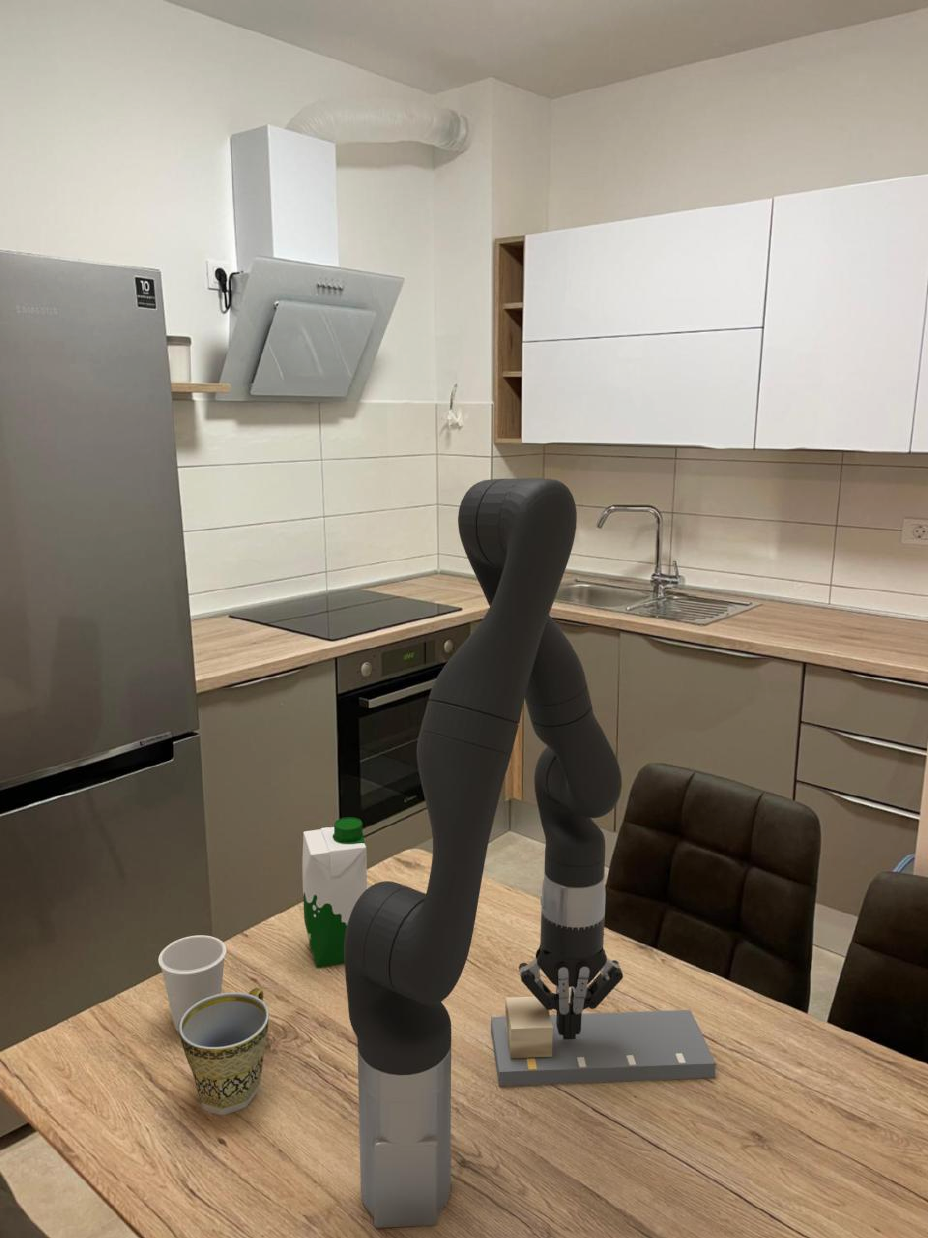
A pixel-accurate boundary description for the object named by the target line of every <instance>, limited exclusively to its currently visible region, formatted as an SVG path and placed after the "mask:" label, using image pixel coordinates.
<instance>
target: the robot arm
mask: <svg viewBox="0 0 928 1238" xmlns="http://www.w3.org/2000/svg"><path fill="white" fill-rule="evenodd" d="M462 497H463V498H462V499H461V502H460V505H459V508H458V514H457V515H458V516H457V524H458V525H457V526H458V533H459V537H460V540H461V543H462V547H463V550H464V553H465V555H466V558H467V560H468V562H469V564H470V566H471V567H470V568H471V569H472V571H473V574H474V575H475V577H476V580H477V582H478V584H479V586H480V588H481V590H482V593H483V594H484V597H485V598H486V601H487V603H488V606H489V608H488V610H487V612H486V614H484V617H483V618H482V620H481V621H480V623H479V624H478V625H477V626H476V628H475V629H473V631H472V632H471V634H470V635H469V636H468V637H467V639H465V641H463V643H462V644H461V645H460V646H459V647H458V649H457V650H456V652H454V654H453V655H452V656H451V658H450V659H449V660H448V661H447V662H446V664H445V665H444V666H443V668H442V669H441V671H440V672H439V674H438V675H437V677H436V679H435V680H434V683H433V685H432V688H431V690H430V694H429V697H428V701H427V705H426V707H425V711H424V715H423V719H422V722H421V726H420V731H419V734H418V738H417V743H416V762H417V769H418V773H419V778H420V779H419V780H420V783H421V788H422V792H423V796H424V801H425V805H426V808H427V812H428V817H429V822H430V826H431V827H430V828H431V833H432V834H431V835H432V857H431V867H430V873H429V874H430V875H429V878H428V885H427V889H426V892H422V891H420V890H418V889H414V888H412V887H409V886H407V885H404V884H401V883H398V882H396V881H388V880H386V881H385V880H384V881H380V882H377V883H375V884H373V885H371V886H369V887H367V890H365V891H364V892H363V894H362V895H361V896H360V897H359V899H358V900H357V902H356V903H355V905H354V907H353V909H352V912H351V914H350V917H349V920H348V924H347V928H346V934H345V943H344V961H345V963H344V974H345V975H344V976H345V985H346V995H347V996H346V997H347V998H346V999H347V1009H348V1010H347V1011H348V1019H349V1022H350V1025H351V1029H352V1031H353V1033H354V1034H355V1036H356V1040H357V1041H356V1042H357V1080H358V1083H357V1084H358V1086H357V1087H358V1089H357V1090H358V1092H357V1093H358V1127H359V1131H358V1132H359V1137H358V1138H359V1164H360V1167H359V1168H360V1169H359V1170H360V1196H361V1201H362V1203H363V1205H364V1207H365V1209H366V1210H367V1211H368V1212H369V1214H370V1215H371V1216H372V1217H373V1223H374V1224H373V1225H374V1227H375V1228H377V1229H378V1228H397V1227H398V1228H401V1227H415V1226H416V1227H417V1226H436V1225H437V1224H438V1223H439V1222H438V1221H439V1220H438V1219H439V1218H438V1216H439V1214H440V1212H441V1211H442V1210H443V1208H445V1206H446V1205H447V1203H448V1201H449V1198H450V1195H451V1190H452V1187H451V1186H452V1184H451V1183H452V1181H451V1180H452V1177H451V1176H452V1175H451V1173H452V1172H451V1171H452V1167H451V1166H452V1163H451V1162H452V1160H451V1158H452V1151H451V1150H452V1148H451V1147H452V1146H451V1145H452V1144H451V1143H452V1138H451V1137H452V1136H451V1135H452V1134H451V1133H452V1132H451V1131H452V1130H451V1129H452V1022H451V1021H452V1020H451V1017H450V1014H449V1011H448V1009H447V1007H446V1006H445V1005H444V1004H443V1001H444V1000H445V999H446V998H448V996H450V995H451V993H452V992H453V991H454V989H455V987H456V986H457V985H458V982H459V980H460V978H461V977H462V974H463V971H464V968H465V965H466V963H467V959H468V956H469V952H470V948H471V944H472V938H473V935H474V934H473V933H474V927H475V922H476V918H477V911H478V903H479V899H480V892H481V888H482V880H483V875H484V871H485V870H484V868H485V863H486V858H487V853H488V847H489V842H490V838H491V834H492V829H493V824H494V820H495V816H496V812H497V807H498V804H499V800H500V796H501V792H502V788H503V785H504V781H505V777H506V774H507V770H508V768H509V764H510V760H511V757H512V754H513V749H514V745H515V742H516V738H517V733H518V730H519V726H520V725H519V724H520V722H521V717H522V712H523V708H524V702H525V704H526V708H527V711H528V715H529V718H530V723H531V726H532V729H533V731H534V734H535V735H536V736H537V737H538V739H539V740H540V741H541V742H542V743H543V744H544V745H546V748H544V750H543V751H542V753H541V754H540V755H539V757H538V760H537V762H536V766H535V771H534V775H533V776H534V777H533V778H534V779H533V781H534V792H535V793H534V794H535V799H536V805H537V809H538V813H539V818H540V824H541V827H542V830H543V833H544V837H545V847H544V849H545V850H544V874H543V879H542V885H541V895H540V905H541V906H540V909H541V910H540V912H541V915H540V943H539V947H538V949H537V951H536V953H535V959H533V960H532V961H530V962H529V963H526V962H521V963H520V964H519V966H518V971H519V975H520V981H521V982H522V983H523V985H524V986H526V988H527V989H528V990H529V991H530V992H531V994H532V995H533V997H536V998H537V999H538V1000H539V1002H540V1003H541V1004H542V1005H543V1006H544V1007H545V1008H546V1009H547V1010H549V1011H552V1010H555V1011H556V1014H555V1015H556V1025H557V1029H558V1033H559V1035H563V1039H575V1038H576V1034H579V1033H580V1031H581V1015H582V1014H583V1011H584V1010H585V1009H591V1010H594V1009H597V1008H598V1007H599V1005H600V1004H601V1003H602V1002H603V1001H604V1000H605V998H606V997H608V995H609V994H610V993H611V992H612V991H613V989H615V987H616V986H618V984H619V983H620V982H621V981H622V979H623V978H624V975H623V970H622V968H621V965H620V963H619V961H618V960H615V959H614V960H611V959H610V958H608V956H607V954H606V949H604V942H605V941H604V939H605V937H604V936H605V915H606V898H607V897H606V882H605V869H606V868H605V865H606V839H605V838H606V837H605V834H604V832H603V831H602V829H601V828H600V827H599V826H598V825H597V824H596V822H595V821H594V820H593V819H597V818H602V817H604V816H606V815H608V814H609V813H610V812H611V811H612V810H613V809H614V808H615V807H616V805H617V804H618V802H619V799H620V797H621V793H622V789H623V784H622V783H623V781H622V780H623V778H622V771H621V767H620V765H619V761H618V758H617V756H616V754H615V752H614V750H613V748H612V746H611V744H610V742H609V740H608V738H607V736H606V734H605V732H604V729H602V726H601V725H600V724H599V722H598V719H597V718H596V716H595V713H594V710H593V704H592V700H591V696H590V695H591V694H590V691H589V688H588V687H589V686H588V683H587V679H586V678H587V677H586V674H585V671H584V668H583V665H582V663H581V660H580V658H579V656H578V654H577V652H576V650H575V649H574V647H573V646H572V644H571V642H570V641H569V639H568V638H567V636H566V635H565V634H564V632H563V631H562V629H561V628H560V627H559V626H558V624H557V623H556V622H555V621H554V620H553V618H552V617H551V614H550V612H551V611H552V607H553V604H554V602H555V600H556V596H557V593H558V591H559V588H560V585H561V582H562V580H563V577H564V575H565V574H564V573H565V571H566V569H567V565H568V563H569V560H570V556H571V554H572V551H573V547H574V542H575V537H576V531H577V521H578V520H577V518H578V517H577V516H578V515H577V513H578V512H577V506H576V505H577V504H576V502H575V498H574V496H573V494H572V492H571V490H570V488H569V487H568V486H567V485H566V484H564V483H563V482H561V481H559V480H557V479H552V478H543V477H540V478H539V477H531V478H527V477H526V478H525V477H524V478H491V479H484V480H481V481H478V482H476V483H475V484H473V485H472V486H471V487H470V488H469V489H468V490H467V491H466V492H465V493H464V496H462ZM540 970H541V971H542V973H543V974H544V975H545V976H546V977H547V978H548V980H549V981H550V982H551V984H552V985H554V986H555V993H554V992H552V990H551V989H550V987H548V986H547V984H545V982H544V981H543V980H542V978H541V976H542V975H541V973H540Z"/></svg>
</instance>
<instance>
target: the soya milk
mask: <svg viewBox="0 0 928 1238" xmlns="http://www.w3.org/2000/svg"><path fill="white" fill-rule="evenodd" d="M363 831H364V829H363V822H362V820H361V819H359V818H357V817H342V818H338V819H337V820H336V821H335V822H334V824H333V826H331V827H328V826H326V827H321V828H319V829H313V830H306V831H303V832H302V833H303V837H302V862H301V864H302V865H301V868H302V869H301V872H302V897H303V901H302V902H303V903H302V904H303V920H304V925H305V929H306V934H307V936H308V940H309V944H310V947H311V952H312V956H313V959H314V963H315V967H316V968H317V969H318V968H323V967H324V968H325V967H329V966H330V967H331V966H336V965H342V964H345V961H344V943H345V934H346V928H347V924H348V920H349V917H350V914H351V912H352V909H353V907H354V905H355V903H356V902H357V900H358V899H359V897H360V896H361V895H362V894H363V892H364V891H365V890H367V889H368V875H367V873H368V869H367V868H368V867H367V864H368V863H367V862H368V861H367V846H366V841H365V835H364V833H363Z"/></svg>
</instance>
